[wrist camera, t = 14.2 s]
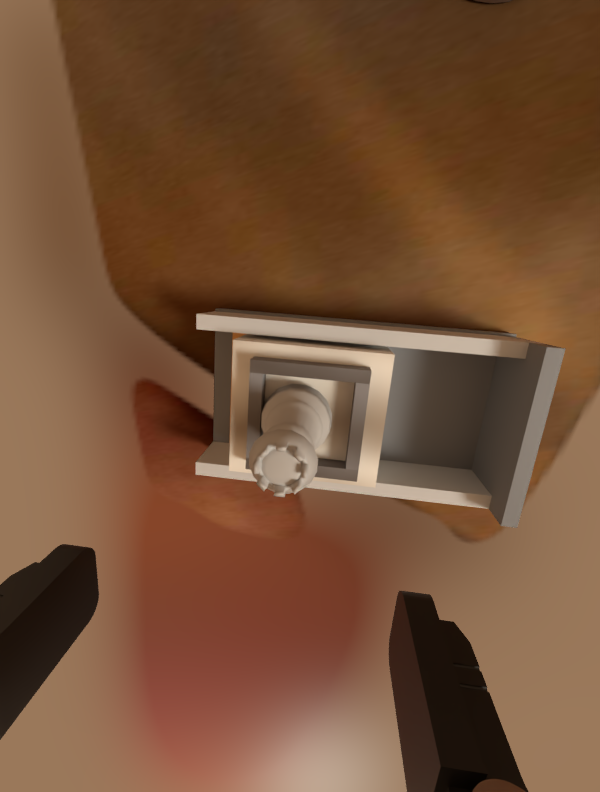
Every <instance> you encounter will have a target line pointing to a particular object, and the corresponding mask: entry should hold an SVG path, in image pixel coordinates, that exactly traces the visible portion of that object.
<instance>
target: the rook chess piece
mask: <svg viewBox="0 0 600 792" xmlns="http://www.w3.org/2000/svg"><path fill="white" fill-rule="evenodd" d="M331 422H332V412H331V409H330V406H329V403H328V401H327V400H326V399H325V398H324V396H323V395H322V394H321V393H320V392H319V391H318V390H316V389H314V388H312V387H309V386H307V385H303V384H289V385H286V386H283V387H280V388H278V389H277V390H276V391H275V392H274V393H272V394H271V395H270V396H269V397H268V399H267V402H266V404H265V406H264V408H263V411H262V418H261V427H262V430H263V432H264V434H263V435H262V436H260V437H259V438H258V439H257V440H256V441H255V442H254V444H253V446H252V448H251V450H250V452H249V467H250V469H251V471H252V474H253V476H254V478H255V479H256V480H257V483H256V484H257V485H258V486H259V487H260V488H261V489H262V490H263V491H265V489H266V488H267V489H269V490H271V491H273V492H275V493H274V496H278V497H285V493H287V494H289V493H293V492H294V494H296V493H297V492H298V491H300V490H302V489H303V488H305V487H306V486H307V485H308V484H310V483H311V482H312V480H313V478H314V476H315V474H316V473H317V466H318V457H317V455H316V452H315V450H316V449H317V448H318V447H319V446H321V445H322V444H323V443H324V441H325V440H326V438H327V436H328V434H329V432H330V428H331Z"/></svg>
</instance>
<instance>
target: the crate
mask: <svg viewBox="0 0 600 792" xmlns="http://www.w3.org/2000/svg"><path fill="white" fill-rule="evenodd" d="M394 358H395V354H394V353H393V352H392V351H391V350H390V349H389V348H388V347H387V346H377V345H366V344H355V343H344V342H333V341H322V340H311V339H299V338H288V337H277V336H266V335H255V334H245V335H243V336H241V337H238V338H236V339H234V340H233V355H232V389H231V422H230V455H229V471H235V472H244V473H252V471H251V469H250V467H249V452H250V450H251V448H252V446H253V444H254V442H255V441H256V440H257V439H258V438H259V437H260V436H262V435H263V434H264V432H263V430H262V427H261V418H262V411H263V408H264V406H265V404H266V402H267V399H268V397H269V396H270V395H271V394H272V393H274V392H275V391H276V390H277V389H278V388H280V387H283V386H286V385H289V384H303V385H307V386H309V387H312V388H314V389H316V390H318V391H319V392H320V393H321V394H322V395H323V396H324V398H325V399H326V400H327V401H328V403H329V406H330V409H331V412H332V422H331V428H330V432H329V434H328V436H327V438H326V440H325V441H324V443H323V444H322V445H321V446H319V447H318V448H317V449H316V450H315V452H316V455H317V457H318V466H317V473H316V474H315V476H314V478H313V481H322V482H330V483H339V484H348V485H356V486H365V487H374V488H375V486H376V480H377V473H378V466H379V459H380V453H381V446H382V439H383V432H384V425H385V419H386V412H387V405H388V398H389V392H390V385H391V378H392V371H393V365H394Z"/></svg>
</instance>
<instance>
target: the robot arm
mask: <svg viewBox="0 0 600 792" xmlns="http://www.w3.org/2000/svg"><path fill="white" fill-rule="evenodd" d="M475 1H480V2H486V3H500V2H509V1H512V0H475ZM98 598H99V591H98V579H97V568H96V556H95V551H94V550H93V549H92V548H88V547H81V546H74V545H66V544H62V545H60V546H58V547H57V548H55V549H54V550H53V551H52V552H51V553H50V554H49V555H48V556H47V557H46V558H44V559H43V560H42V561H41V562H40V563H37V562H35V563H33V564H31V565H29V566H28V567H26V568H24V569H22V570H20V571H19V572H17V573H15V574H13V575H11V576H10V577H9V578H8V579H6V580H5V581H4V582H3V583H2V584H1V585H0V739H1V738H2V737H3V736H4V734H5V733H6V731H7V730H8V729H9V727H10V726H11V725H12V724H13V722H14V721H15V720H16V718H17V717H18V715H19V714H20V713H21V712H22V710H23V709H24V707H25V706H26V705H27V704H28V702H29V701H30V700H31V698H32V697H33V696H34V694H35V693H36V692H37V690H38V689H39V688H40V686H41V685H42V684H43V682H44V681H45V680H46V678H47V677H48V676H49V674H50V673H51V672H52V670H53V669H54V668H55V666H56V665H57V664H58V662H59V661H60V660H61V658H62V657H63V656H64V654H65V653H66V652H67V651H68V649H69V648H70V646H71V645H72V644H73V642H74V641H75V640H76V639H77V637H78V636H79V635H80V633H81V632H82V631H83V629H84V628H85V627H86V625H87V624H88V623H89V621H90V620H91V618H92V616H93V614H94V612H95V610H96V607H97V603H98ZM389 666H390V674H391V681H392V688H393V695H394V702H395V709H396V716H397V722H398V729H399V737H400V744H401V751H402V758H403V765H404V772H405V780H406V787H407V792H528V790H527V788H526V786H525V784H524V782H523V779H522V777H521V775H520V772H519V769H518V767H517V764H516V762H515V759H514V756H513V754H512V751H511V749H510V746H509V743H508V741H507V738H506V735H505V733H504V730H503V728H502V725H501V722H500V720H499V717H498V714H497V712H496V710H495V707H494V704H493V701H492V699H491V696H490V693H489V692H487V686H486V683H485V680H484V678H483V675H482V673H481V672H480V670H479V665H478V662H477V660H476V657H475V654H474V652H473V649H472V647H471V644H470V642H469V641H468V639H467V638H466V637H465V636H464V634H463V633H462V632H461V631H460V629H459V628H458V627H457V625H456V624H455V623H454V622H450V621H444V620H439V617H438V614H437V611H436V608H435V605H434V601H433V599H432V597H431V595H429V594H421V593H414V592H405V591H399V592H398V596H397V601H396V606H395V612H394V617H393V623H392V628H391V633H390V639H389Z"/></svg>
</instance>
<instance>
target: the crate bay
mask: <svg viewBox="0 0 600 792" xmlns="http://www.w3.org/2000/svg"><path fill="white" fill-rule="evenodd" d="M196 329H199V330H210V331H215V367H214V426H213V442H212V443H211V445H210V446H209V447H208V448H207V449H206V451H205V452H204V453H203V454H202V455H201V457H200V458H199V459H198V460H197V461H196V475H205V476H213V477H222V478H230V479H239V480H248V481H256V482H257V480H256V479H255V478H254V476H253V474H252V473H244V472H235V471H229V455H230V422H231V389H232V355H233V340H234V339H236V338H238V337H241V336H243V335H245V334H255V335H266V336H277V337H288V338H299V339H311V340H322V341H333V342H344V343H355V344H366V345H377V346H387V347H388V348H389V349H390V350H391V351H392V352H393V353H394V354H395V358H394V365H393V371H392V378H391V385H390V392H389V398H388V405H387V412H386V419H385V425H384V432H383V439H382V446H381V453H380V459H379V466H378V473H377V480H376V486H375V488H374V487H365V486H356V485H348V484H339V483H330V482H322V481H313V480H312V482H311V483H310V484H308V485H307V486H306V487H307V488H316V489H324V490H334V491H342V492H350V493H359V494H367V495H376V496H384V497H393V498H401V499H410V500H418V501H427V502H435V503H444V504H452V505H461V506H470V507H478V508H487V509H489V510H490V511H491V512H492V514H493V515H494V517H495V518H496V519H497V521H498V522H499V524H500V525H501V526H507V527H515V528H517V526H518V522H519V519H520V515H521V511H522V508H523V504H524V500H525V497H526V493H527V489H528V486H529V482H530V478H531V474H532V471H533V467H534V463H535V460H536V456H537V452H538V449H539V445H540V441H541V437H542V434H543V430H544V426H545V423H546V419H547V415H548V412H549V408H550V404H551V400H552V397H553V393H554V389H555V386H556V382H557V378H558V375H559V371H560V367H561V363H562V360H563V356H564V352H565V348H560V347H556V346H552V345H547V344H543V343H539V342H534V341H530V340H526V339H521V338H517V337H516V334H512V333H504V332H492V331H481V330H469V329H457V328H446V327H434V326H422V325H411V324H399V323H387V322H376V321H364V320H352V319H341V318H329V317H317V316H306V315H294V314H282V313H271V312H259V311H247V310H235V309H224V308H216V309H215V311H214V312H206V313H199V314H196Z"/></svg>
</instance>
